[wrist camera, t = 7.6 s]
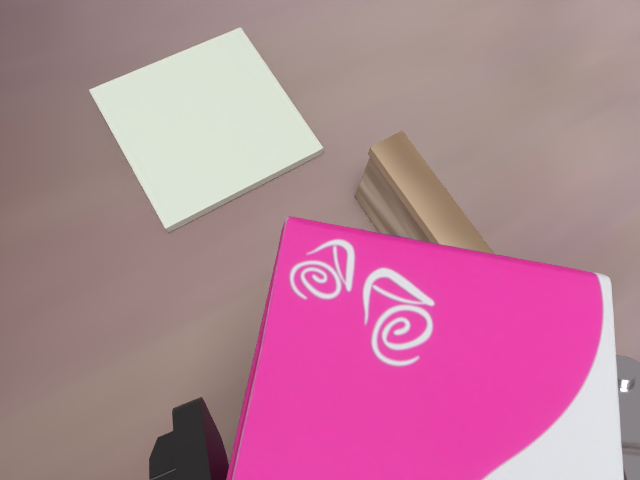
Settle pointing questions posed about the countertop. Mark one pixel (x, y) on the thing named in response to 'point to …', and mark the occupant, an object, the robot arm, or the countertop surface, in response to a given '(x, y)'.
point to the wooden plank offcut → (412, 198)
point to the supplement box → (427, 365)
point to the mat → (205, 127)
